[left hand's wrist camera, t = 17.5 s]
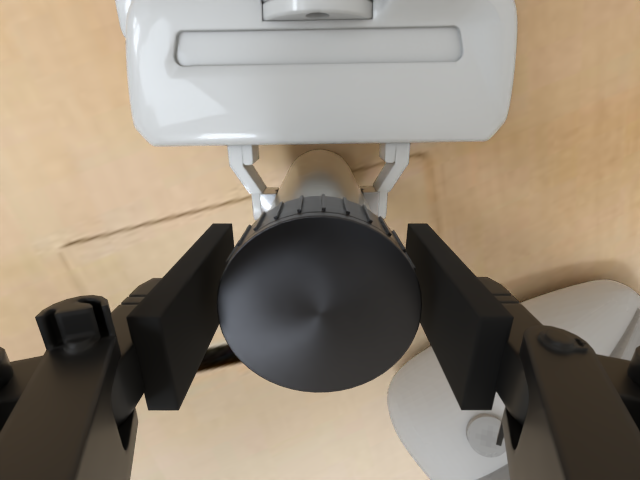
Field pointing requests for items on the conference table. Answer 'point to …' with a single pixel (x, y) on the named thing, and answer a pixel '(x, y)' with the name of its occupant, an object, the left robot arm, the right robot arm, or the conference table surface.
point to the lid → (319, 295)
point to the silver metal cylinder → (319, 179)
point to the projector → (483, 425)
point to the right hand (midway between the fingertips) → (320, 217)
